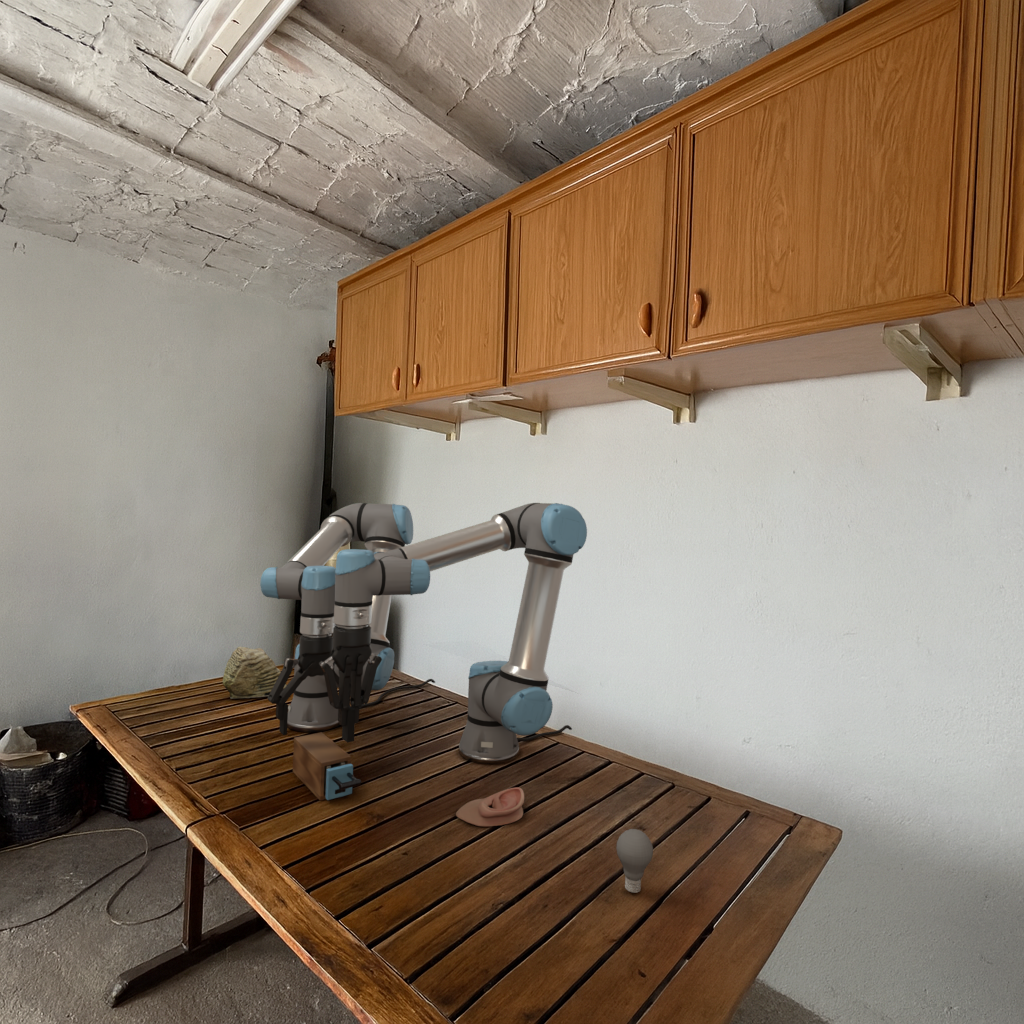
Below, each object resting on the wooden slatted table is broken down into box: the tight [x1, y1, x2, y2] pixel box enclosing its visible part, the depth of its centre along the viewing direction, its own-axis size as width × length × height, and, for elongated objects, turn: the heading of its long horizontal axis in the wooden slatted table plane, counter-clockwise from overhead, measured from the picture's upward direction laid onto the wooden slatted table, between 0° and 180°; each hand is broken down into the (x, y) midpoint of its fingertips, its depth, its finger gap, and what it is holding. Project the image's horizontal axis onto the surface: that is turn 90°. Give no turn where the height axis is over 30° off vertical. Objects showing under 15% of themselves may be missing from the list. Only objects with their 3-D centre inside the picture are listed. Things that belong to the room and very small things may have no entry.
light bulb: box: [615, 828, 654, 894], centre depth 106 cm, size 6×6×10 cm
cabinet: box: [292, 731, 352, 801], centre depth 141 cm, size 16×7×8 cm, turn 38°
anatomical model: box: [455, 786, 525, 827], centre depth 129 cm, size 13×4×12 cm
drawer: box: [324, 762, 362, 801], centre depth 136 cm, size 21×5×6 cm, turn 38°
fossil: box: [222, 646, 288, 699], centre depth 198 cm, size 9×18×15 cm, turn 132°
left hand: (313, 727), depth 144 cm, fingers open, 13 cm apart
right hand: (348, 739), depth 130 cm, fingers closed
